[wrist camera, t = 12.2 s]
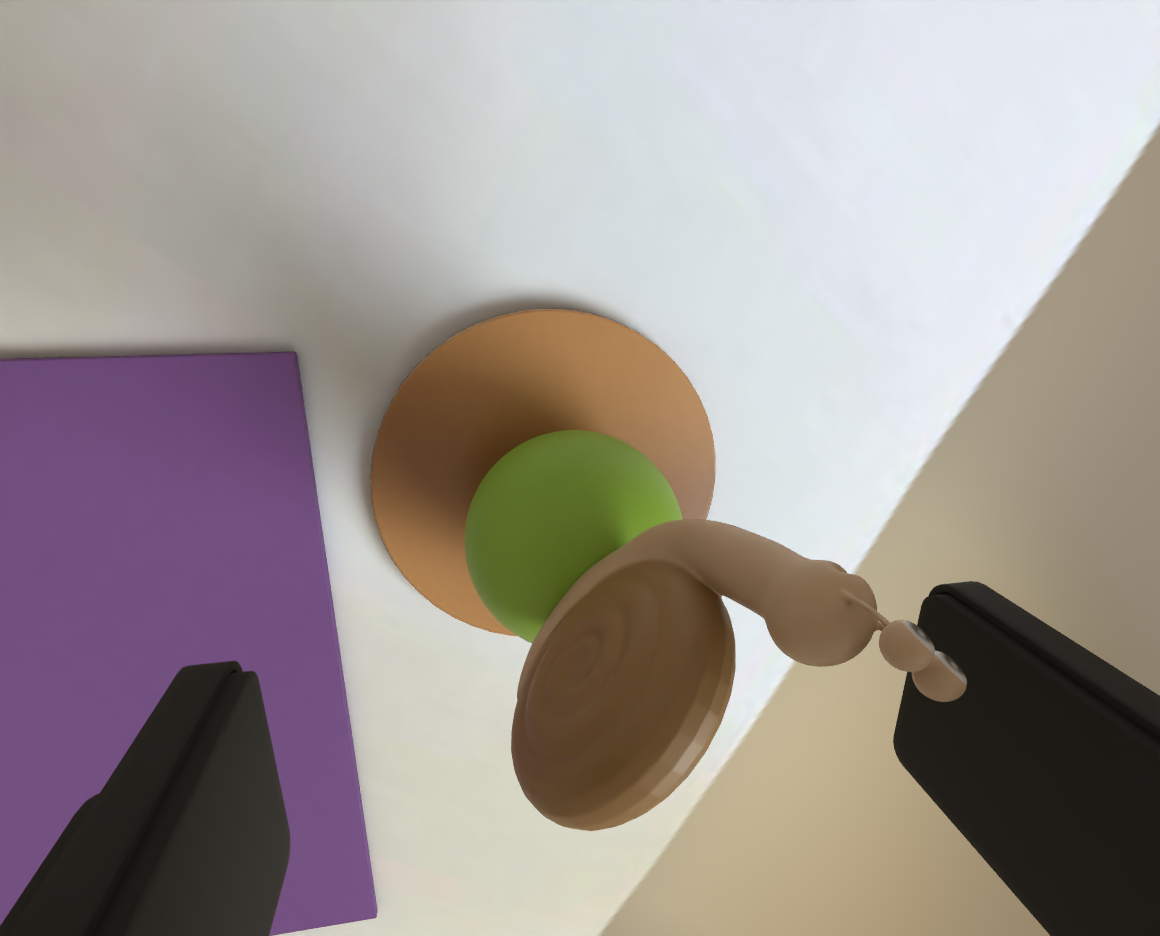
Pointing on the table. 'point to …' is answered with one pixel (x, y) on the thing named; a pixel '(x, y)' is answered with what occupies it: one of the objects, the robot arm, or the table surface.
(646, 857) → the table surface
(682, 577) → the snail figurine
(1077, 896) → the robot arm
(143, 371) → the cloth
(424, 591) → the coaster
